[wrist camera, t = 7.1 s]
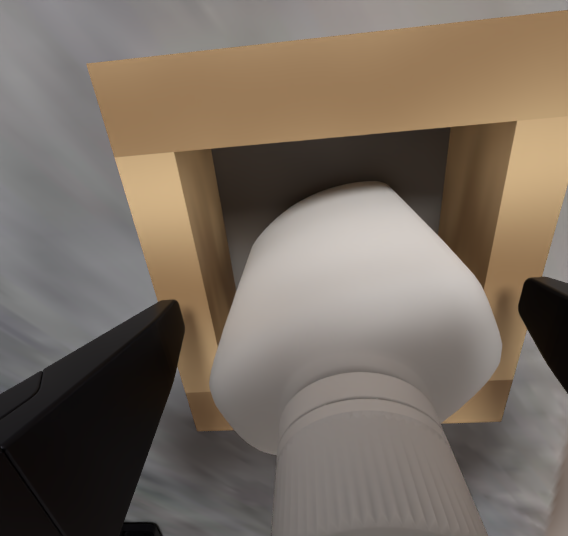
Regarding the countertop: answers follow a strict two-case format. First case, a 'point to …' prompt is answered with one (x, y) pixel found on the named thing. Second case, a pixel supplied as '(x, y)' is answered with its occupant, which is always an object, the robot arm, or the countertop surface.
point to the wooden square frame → (344, 160)
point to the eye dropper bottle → (356, 366)
